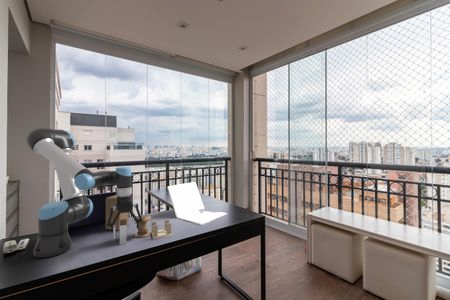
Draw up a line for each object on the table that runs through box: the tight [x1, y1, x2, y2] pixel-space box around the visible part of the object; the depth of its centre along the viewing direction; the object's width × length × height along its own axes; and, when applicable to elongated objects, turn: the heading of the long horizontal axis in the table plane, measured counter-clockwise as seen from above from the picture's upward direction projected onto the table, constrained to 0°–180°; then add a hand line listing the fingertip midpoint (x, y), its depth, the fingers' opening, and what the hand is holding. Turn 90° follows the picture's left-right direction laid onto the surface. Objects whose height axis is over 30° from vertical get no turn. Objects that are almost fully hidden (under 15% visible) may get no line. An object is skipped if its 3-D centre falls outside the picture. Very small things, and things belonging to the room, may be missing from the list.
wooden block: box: [105, 194, 130, 231], centre depth 138 cm, size 10×10×20 cm
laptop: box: [167, 181, 228, 226], centre depth 163 cm, size 30×35×23 cm
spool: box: [133, 215, 152, 239], centre depth 126 cm, size 9×9×10 cm
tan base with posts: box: [150, 219, 172, 240], centre depth 126 cm, size 10×10×7 cm
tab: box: [119, 219, 128, 246], centre depth 117 cm, size 3×9×11 cm, turn 24°
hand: (125, 236), depth 117 cm, fingers open, 10 cm apart
